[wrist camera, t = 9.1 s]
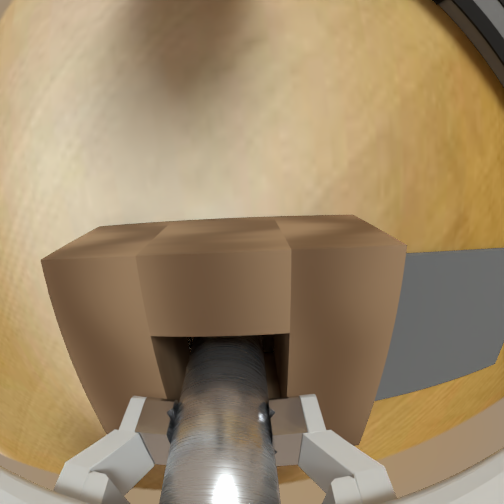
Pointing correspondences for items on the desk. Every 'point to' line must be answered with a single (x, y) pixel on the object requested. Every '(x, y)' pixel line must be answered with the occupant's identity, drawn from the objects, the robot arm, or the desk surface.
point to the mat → (445, 319)
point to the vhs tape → (481, 28)
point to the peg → (222, 427)
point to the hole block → (231, 307)
